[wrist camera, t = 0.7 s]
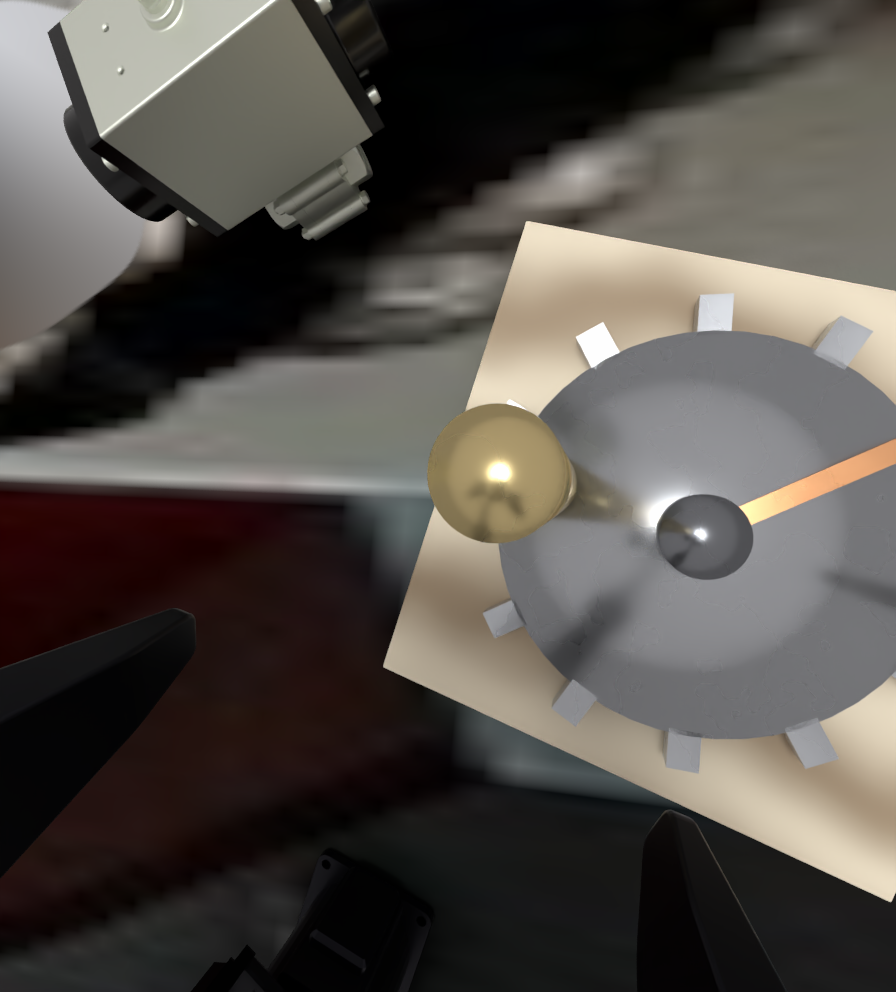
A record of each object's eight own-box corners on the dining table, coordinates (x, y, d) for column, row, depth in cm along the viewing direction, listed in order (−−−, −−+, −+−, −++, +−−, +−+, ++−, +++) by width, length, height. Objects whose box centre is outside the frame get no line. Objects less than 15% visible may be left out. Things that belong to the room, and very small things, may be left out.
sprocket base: (876, 882, 20) (925, 948, 17) (390, 660, 26) (365, 681, 23) (1112, 346, 18) (1213, 318, 15) (529, 232, 24) (520, 195, 21)
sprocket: (859, 841, 19) (1273, 1374, 8) (424, 649, 24) (270, 797, 12) (1062, 373, 17) (1997, 139, 6) (551, 265, 22) (510, 17, 11)
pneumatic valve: (448, 178, 25) (324, -100, 13) (259, 293, 28) (22, 149, 16) (407, 83, 25) (254, -264, 14) (226, 206, 28) (-26, 6, 17)
